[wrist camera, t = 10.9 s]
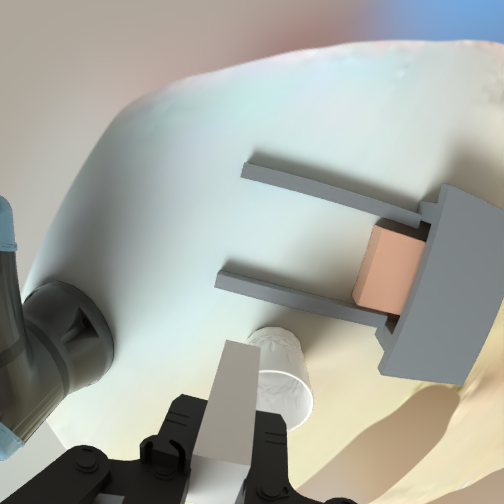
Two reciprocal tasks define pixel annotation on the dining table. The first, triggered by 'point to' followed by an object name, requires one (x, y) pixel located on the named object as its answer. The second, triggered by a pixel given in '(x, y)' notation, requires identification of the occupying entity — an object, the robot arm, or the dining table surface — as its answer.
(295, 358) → the white cup
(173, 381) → the dining table surface
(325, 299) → the overhang dock
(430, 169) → the dining table surface
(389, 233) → the salmon pink tile
